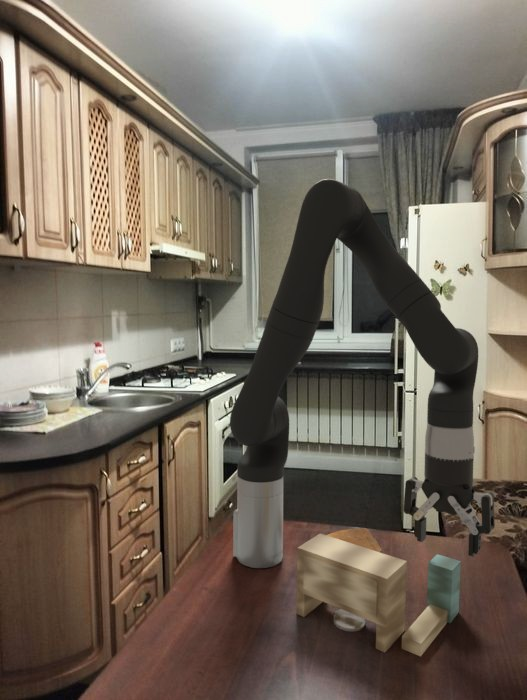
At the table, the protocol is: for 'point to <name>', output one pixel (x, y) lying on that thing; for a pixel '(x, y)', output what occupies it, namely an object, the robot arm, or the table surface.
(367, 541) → the pottery shard
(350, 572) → the wooden arch block
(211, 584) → the table surface
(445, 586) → the two-colour block
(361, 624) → the disc
